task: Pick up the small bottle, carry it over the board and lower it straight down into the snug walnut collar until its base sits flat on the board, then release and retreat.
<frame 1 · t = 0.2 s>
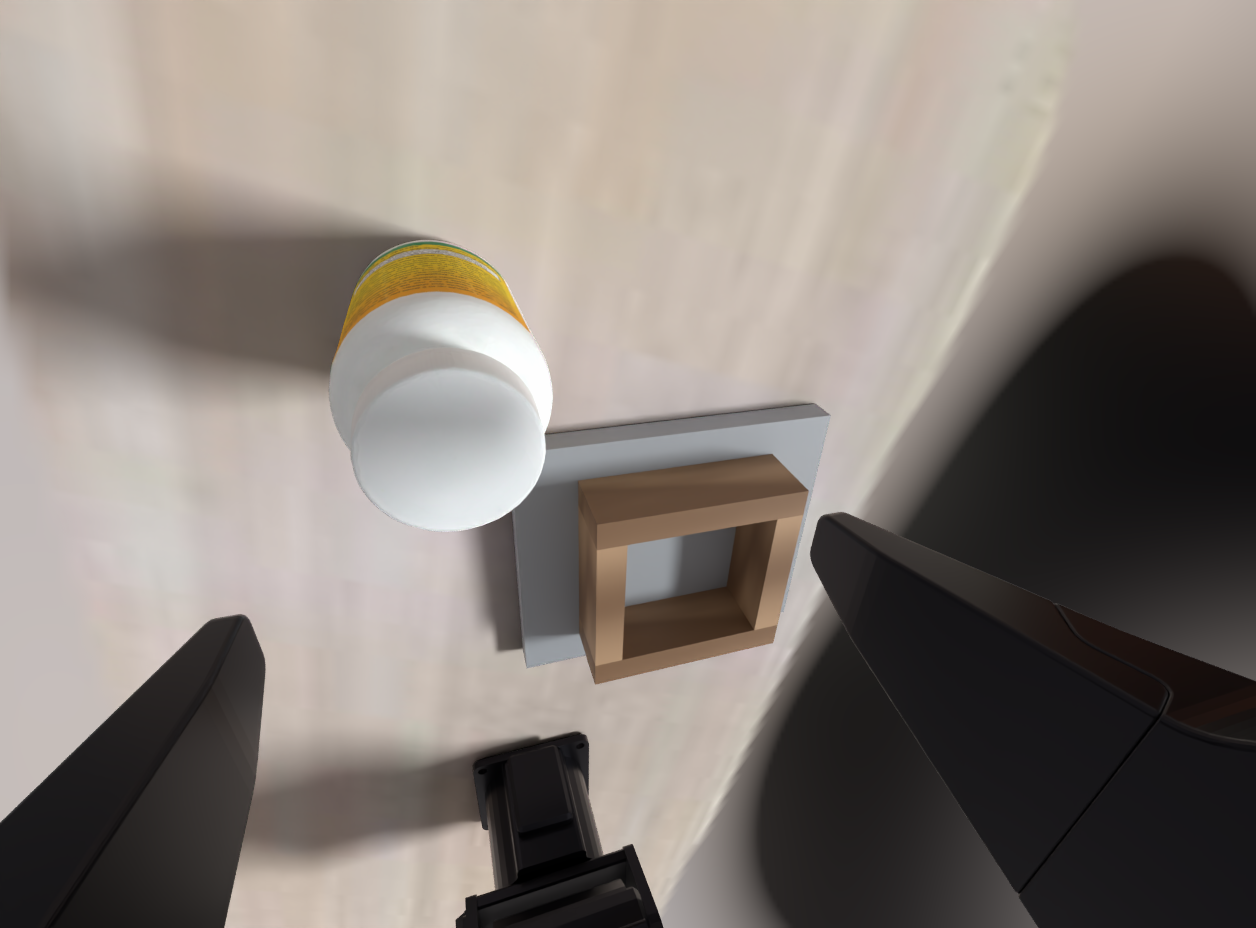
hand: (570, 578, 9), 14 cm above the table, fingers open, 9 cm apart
board: (662, 531, 29), on the table
collar: (671, 547, 28), resting on board
supplement bottle: (436, 315, 21), on the table
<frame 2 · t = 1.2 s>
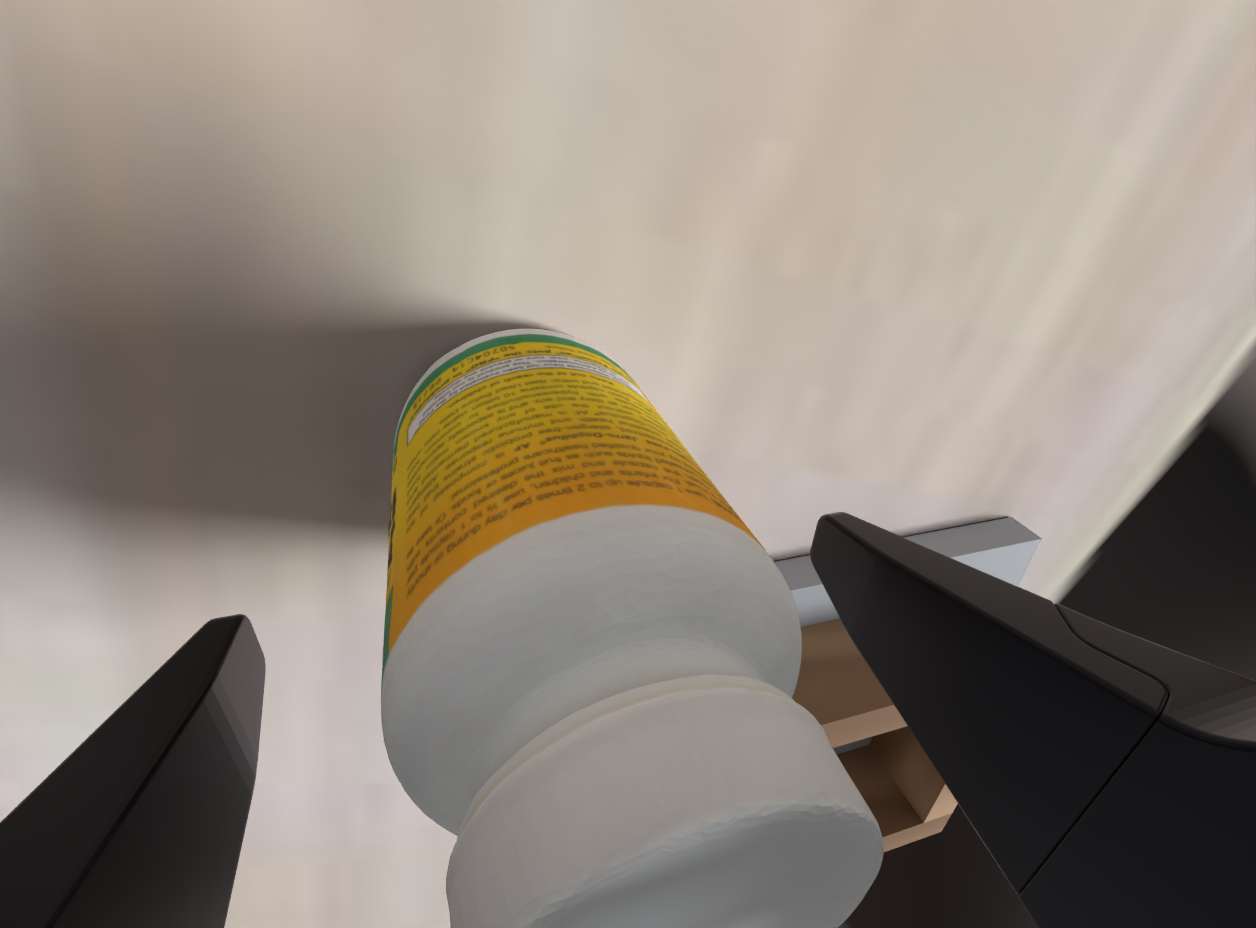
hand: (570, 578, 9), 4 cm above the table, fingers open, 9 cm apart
board: (794, 682, 21), on the table
collar: (812, 711, 20), resting on board
supplement bottle: (522, 434, 13), on the table
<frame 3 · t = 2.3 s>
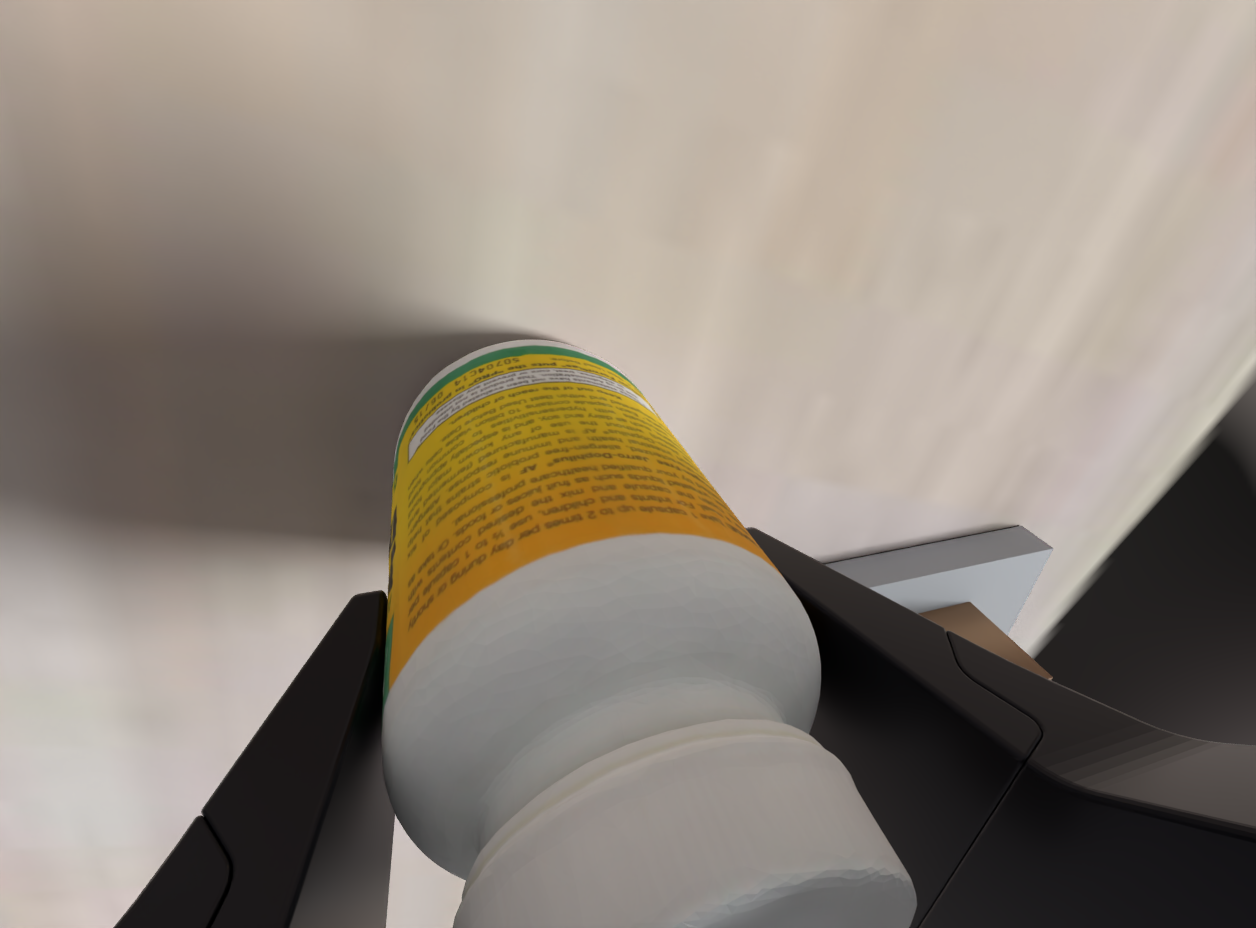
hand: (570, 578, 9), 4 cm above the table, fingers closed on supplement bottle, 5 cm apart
board: (800, 693, 21), on the table
collar: (819, 723, 20), resting on board
supplement bottle: (526, 447, 13), on the table, touching gripper
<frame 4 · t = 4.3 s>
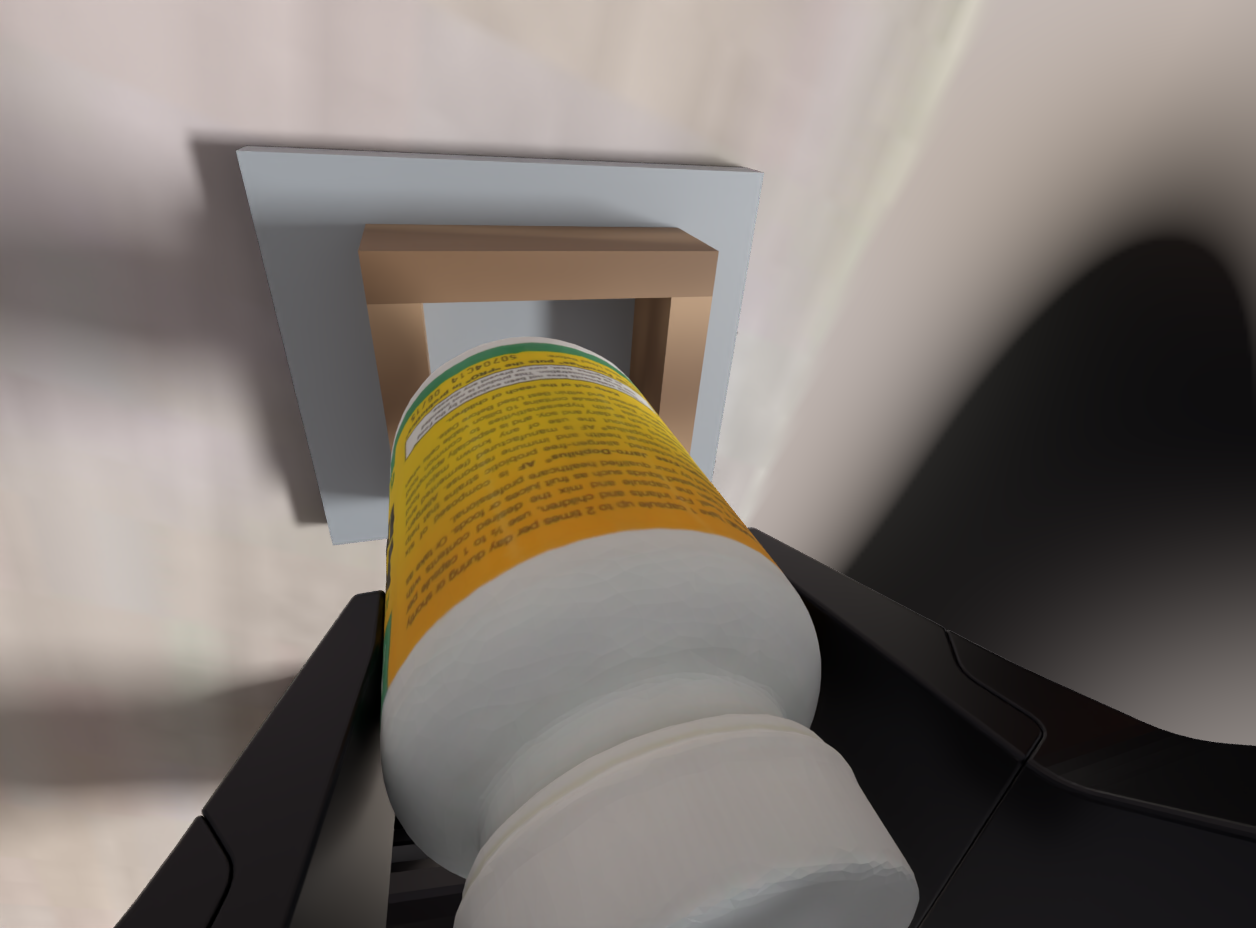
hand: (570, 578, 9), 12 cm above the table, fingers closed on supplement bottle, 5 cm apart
board: (529, 356, 20), on the table
collar: (535, 370, 19), resting on board
supplement bottle: (523, 445, 13), point 8 cm above the table, touching gripper
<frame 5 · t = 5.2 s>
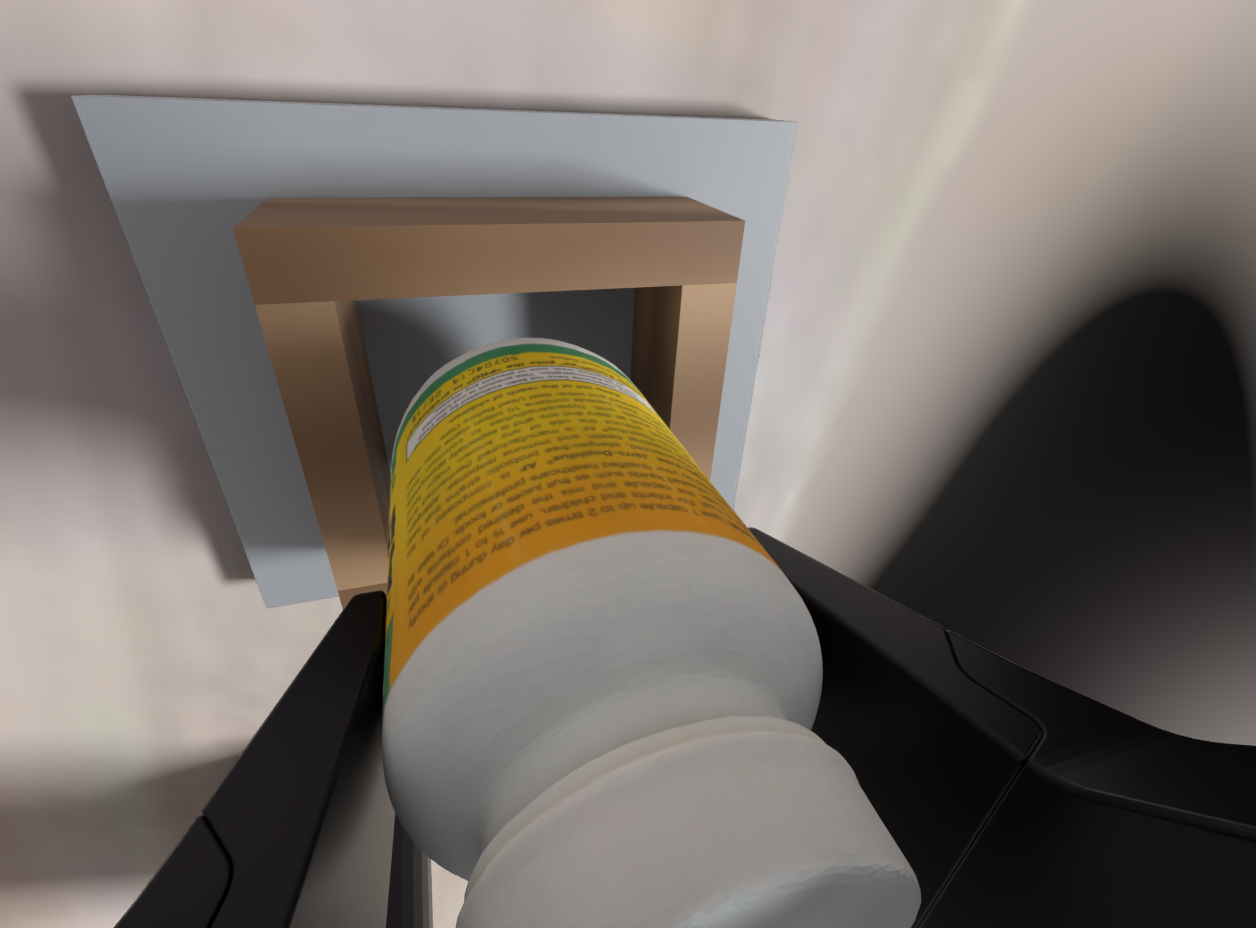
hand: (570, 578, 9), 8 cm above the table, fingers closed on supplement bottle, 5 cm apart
board: (504, 367, 16), on the table
collar: (510, 385, 15), resting on board
supplement bottle: (524, 445, 13), point 4 cm above the table, touching gripper
when the fingers open (6 cm above the table, at t = 6.2 s): supplement bottle drops 1 cm, resting on board.
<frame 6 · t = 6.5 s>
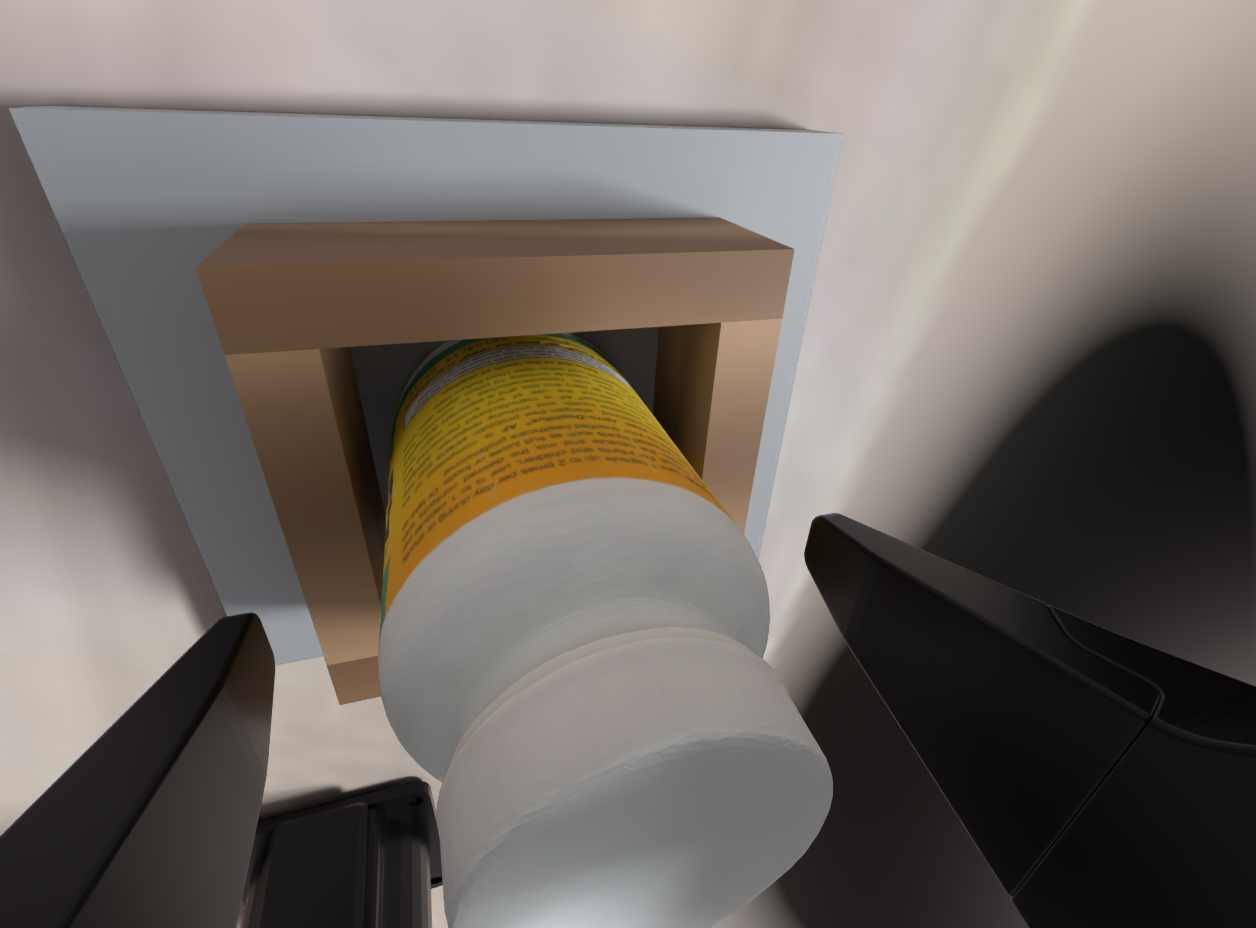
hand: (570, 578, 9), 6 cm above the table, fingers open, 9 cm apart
board: (512, 403, 15), on the table
collar: (520, 425, 14), resting on board
supplement bottle: (515, 424, 14), point 1 cm above the table, touching board
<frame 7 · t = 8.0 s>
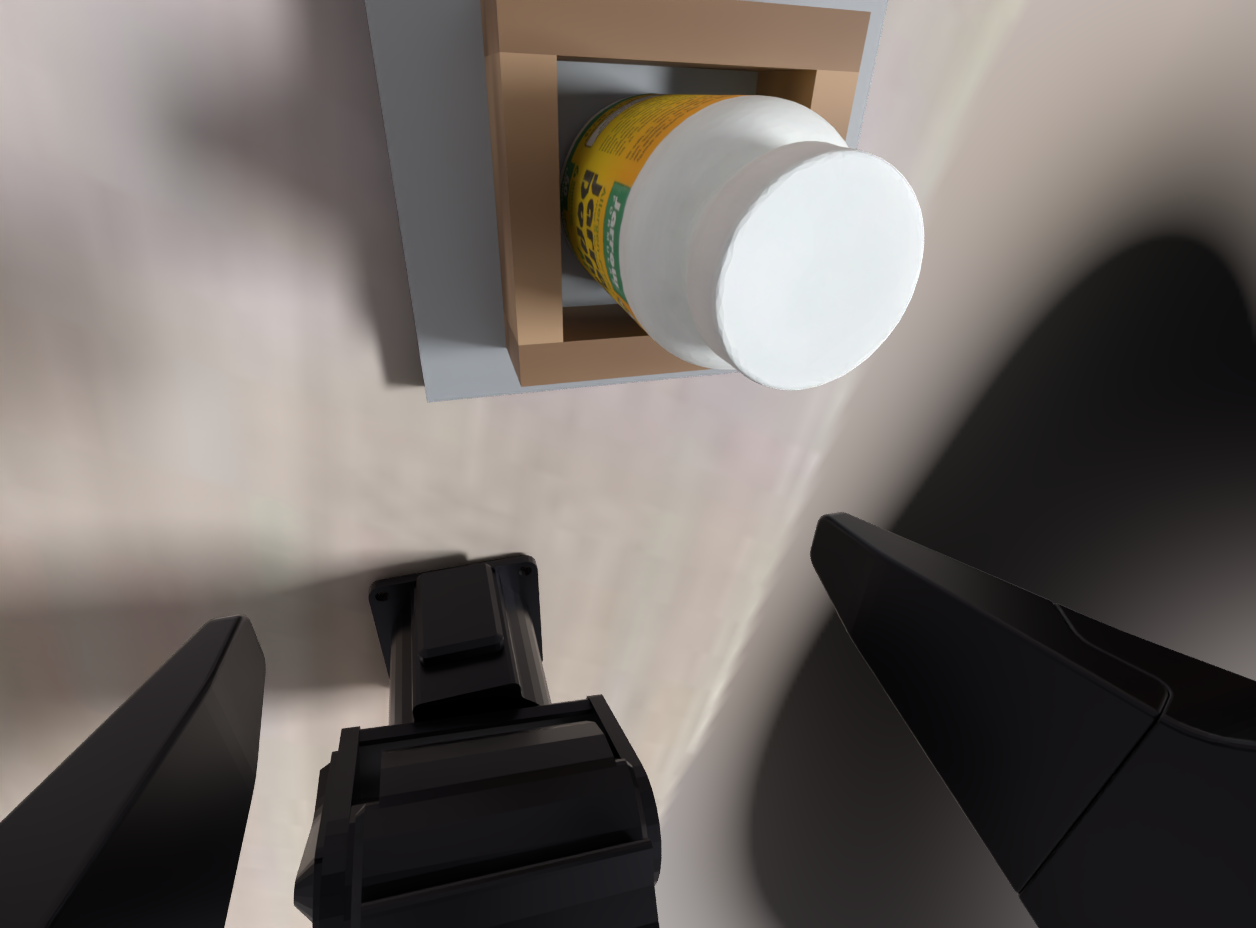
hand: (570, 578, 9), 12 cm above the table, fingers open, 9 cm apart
board: (633, 189, 19), on the table
collar: (645, 195, 18), resting on board
supplement bottle: (640, 196, 18), point 1 cm above the table, touching board
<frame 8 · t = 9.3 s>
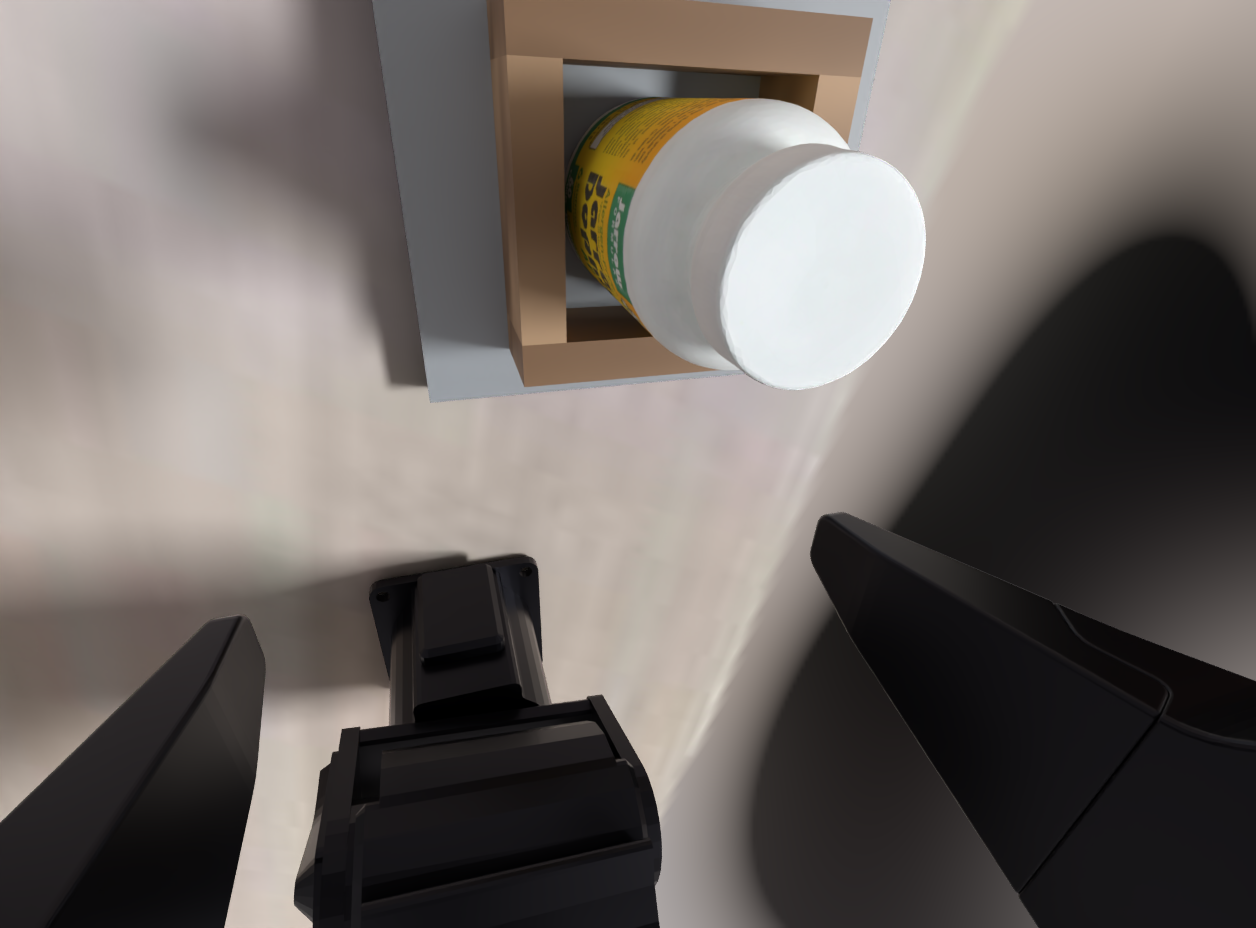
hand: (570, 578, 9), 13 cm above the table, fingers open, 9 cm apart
board: (636, 192, 19), on the table
collar: (648, 198, 18), resting on board
supplement bottle: (643, 198, 18), point 1 cm above the table, touching board
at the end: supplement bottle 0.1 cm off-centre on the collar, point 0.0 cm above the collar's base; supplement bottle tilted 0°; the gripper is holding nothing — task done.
